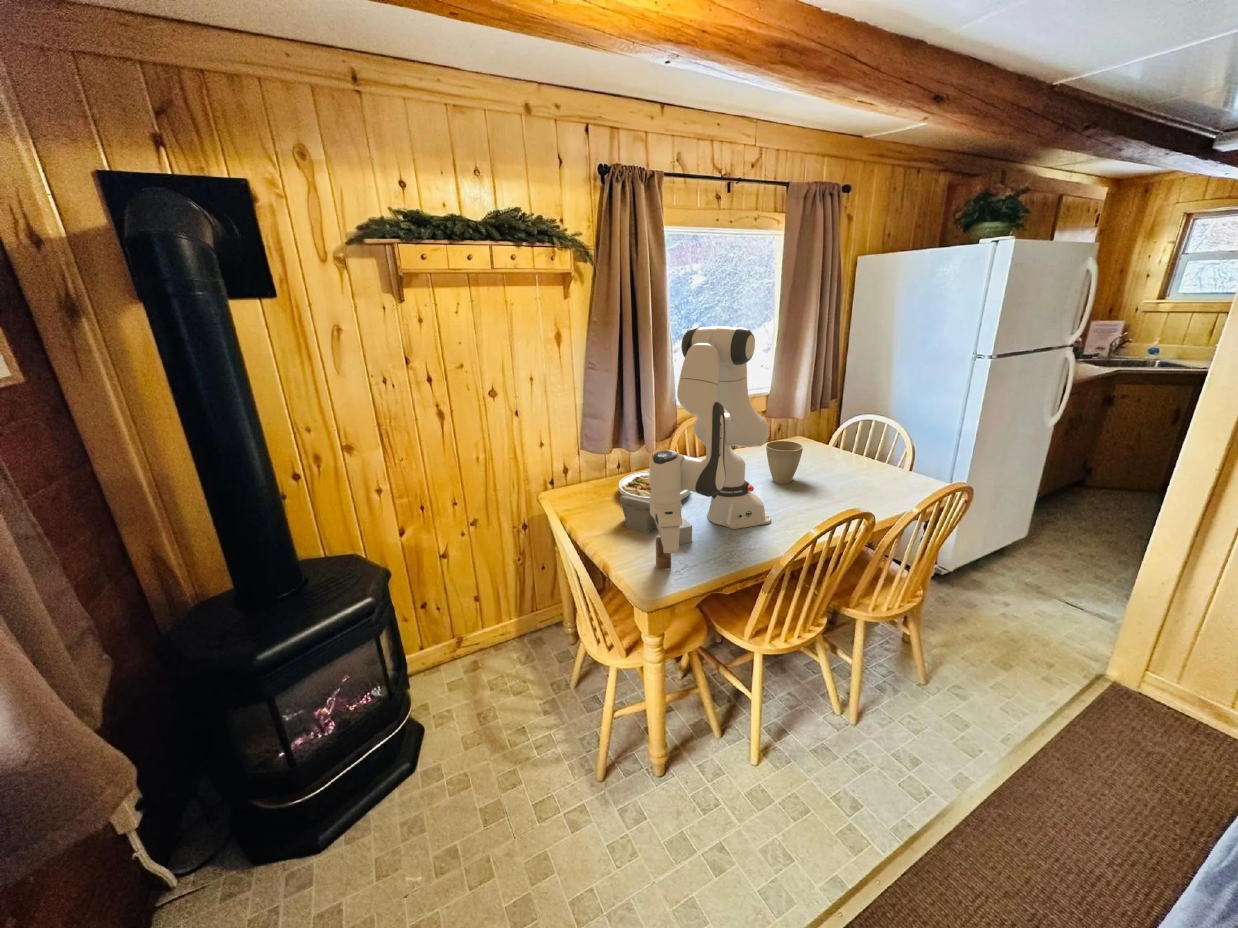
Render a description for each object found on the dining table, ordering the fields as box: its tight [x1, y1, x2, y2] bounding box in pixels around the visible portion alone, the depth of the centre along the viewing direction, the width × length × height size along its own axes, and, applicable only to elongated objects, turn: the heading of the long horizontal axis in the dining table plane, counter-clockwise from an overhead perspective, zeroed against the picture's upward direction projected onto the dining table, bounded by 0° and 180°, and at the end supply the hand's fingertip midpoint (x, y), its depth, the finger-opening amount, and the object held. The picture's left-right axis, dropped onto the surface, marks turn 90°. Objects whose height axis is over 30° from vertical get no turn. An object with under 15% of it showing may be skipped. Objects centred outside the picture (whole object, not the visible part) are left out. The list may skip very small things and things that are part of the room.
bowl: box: [618, 470, 691, 502], centre depth 196 cm, size 30×30×8 cm
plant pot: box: [765, 440, 804, 484], centre depth 203 cm, size 15×15×16 cm
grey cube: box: [679, 518, 693, 546], centre depth 159 cm, size 6×6×6 cm
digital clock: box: [619, 495, 657, 534], centre depth 169 cm, size 16×9×11 cm, turn 45°
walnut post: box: [655, 536, 672, 571], centre depth 143 cm, size 4×4×9 cm
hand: (665, 550), depth 139 cm, fingers closed
